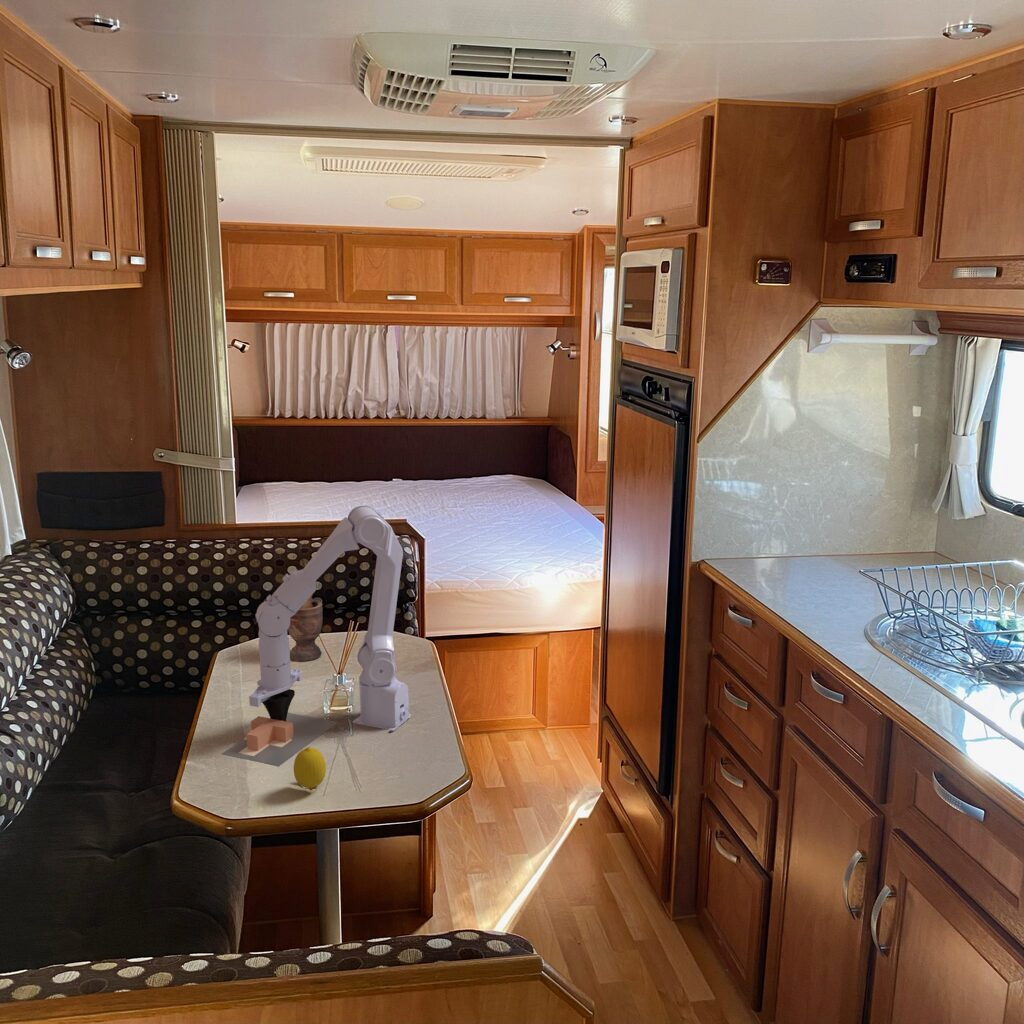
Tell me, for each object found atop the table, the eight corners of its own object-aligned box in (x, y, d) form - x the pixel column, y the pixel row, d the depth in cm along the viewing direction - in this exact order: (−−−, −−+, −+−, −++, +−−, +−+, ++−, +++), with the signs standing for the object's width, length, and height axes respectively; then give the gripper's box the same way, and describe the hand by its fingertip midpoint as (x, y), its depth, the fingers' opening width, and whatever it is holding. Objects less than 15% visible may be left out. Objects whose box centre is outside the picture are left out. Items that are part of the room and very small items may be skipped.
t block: (259, 730, 192) (258, 716, 192) (293, 737, 189) (292, 722, 189) (235, 746, 186) (234, 731, 185) (270, 753, 183) (269, 738, 182)
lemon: (313, 778, 175) (310, 737, 173) (333, 788, 171) (331, 746, 170) (288, 790, 171) (285, 748, 169) (308, 800, 167) (306, 757, 165)
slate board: (338, 724, 196) (338, 722, 196) (279, 769, 178) (279, 766, 178) (284, 714, 201) (284, 711, 201) (221, 756, 183) (221, 753, 183)
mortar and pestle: (287, 646, 239) (282, 568, 235) (322, 643, 241) (319, 566, 237) (288, 663, 228) (283, 582, 224) (325, 660, 230) (321, 579, 226)
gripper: (280, 646, 197) (283, 708, 200) (234, 672, 184) (239, 738, 187) (309, 651, 194) (312, 714, 197) (265, 677, 181) (269, 744, 184)
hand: (278, 726), depth 192 cm, fingers closed
